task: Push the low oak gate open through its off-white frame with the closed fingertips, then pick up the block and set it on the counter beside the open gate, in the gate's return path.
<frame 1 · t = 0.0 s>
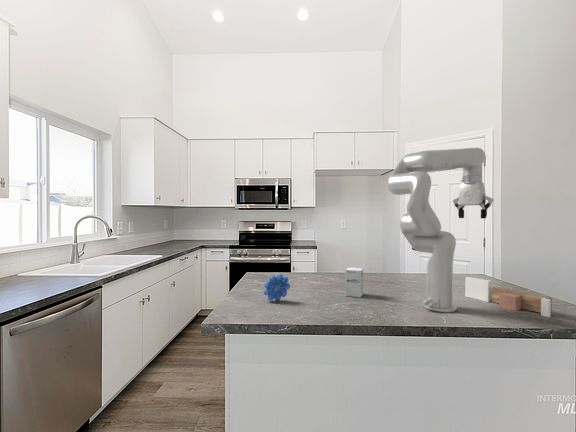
hand: (472, 218, 142), 37 cm above the countertop, tool pointing down, fingers open, 9 cm apart
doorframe: (548, 314, 121), on the countertop
supplement box: (354, 295, 150), on the countertop
block: (509, 308, 130), on the countertop
door: (520, 300, 130), point 3 cm above the countertop, hinge at 0.0°
rolling pin: (488, 296, 150), on the countertop
grapes: (276, 300, 140), on the countertop
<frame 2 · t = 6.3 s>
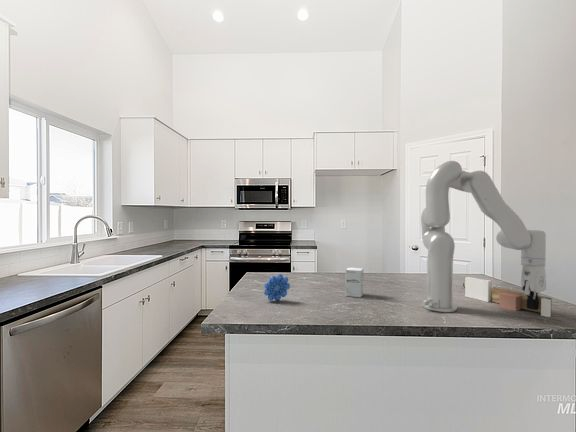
hand: (532, 308, 123), 2 cm above the countertop, tool pointing down, fingers closed
door: (520, 300, 130), point 3 cm above the countertop, hinge at 0.7°, touching gripper
rolling pin: (484, 296, 150), on the countertop
everything else where it was.
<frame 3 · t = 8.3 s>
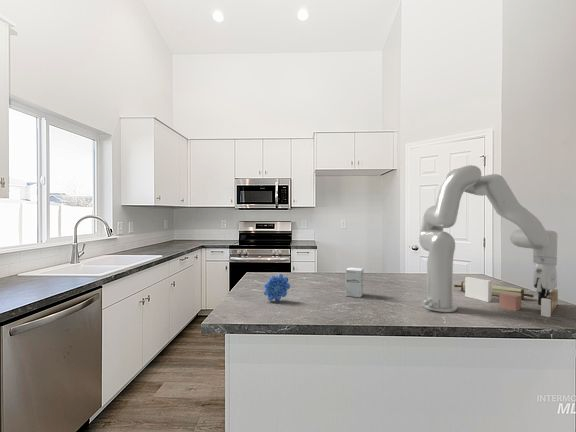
hand: (543, 305, 129), 1 cm above the countertop, tool pointing down, fingers closed
door: (552, 301, 128), point 3 cm above the countertop, hinge at 77.2°
rolling pin: (491, 295, 151), on the countertop
everything else where it was.
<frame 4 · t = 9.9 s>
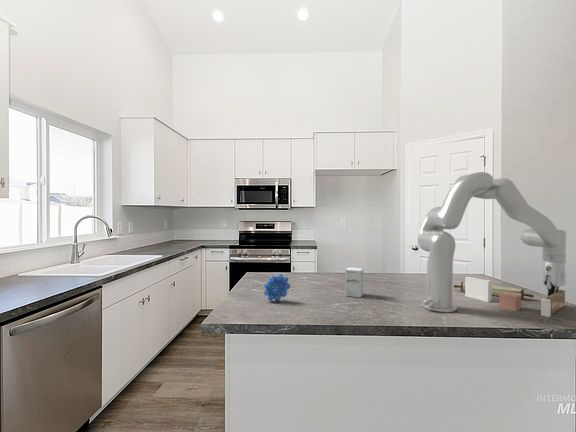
hand: (553, 301, 134), 2 cm above the countertop, tool pointing down, fingers closed
door: (555, 302, 127), point 3 cm above the countertop, hinge at 84.1°
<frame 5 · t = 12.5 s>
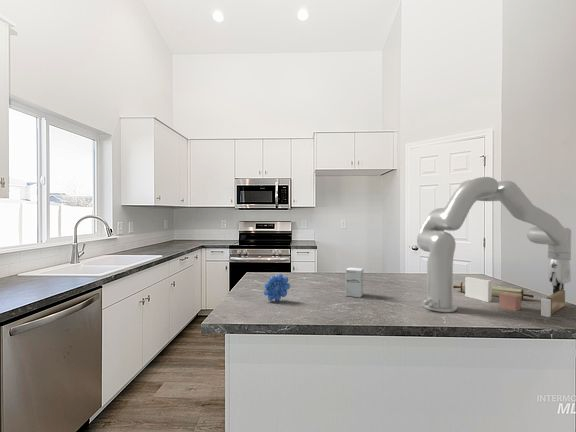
hand: (558, 298, 136), 2 cm above the countertop, tool pointing down, fingers closed
rolling pin: (490, 296, 149), on the countertop
everything else where it was.
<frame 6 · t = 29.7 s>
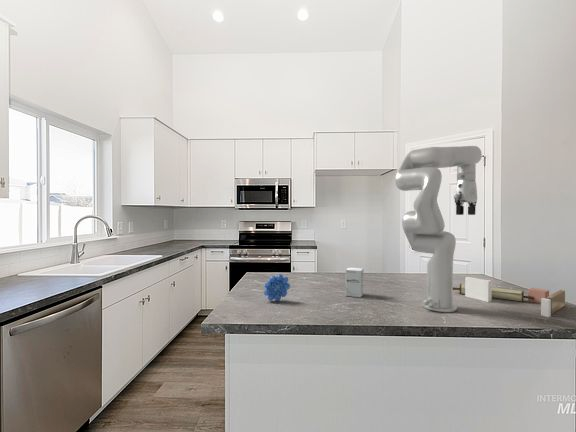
hand: (465, 214, 146), 38 cm above the countertop, tool pointing down, fingers open, 9 cm apart
block: (538, 302, 139), on the countertop
rolling pin: (490, 298, 146), on the countertop
everything else where it was.
at the end: door at +84° (first picture: +0°); block inside the target area (0.7 cm from its centre), on the countertop; block tilted 0° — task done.
